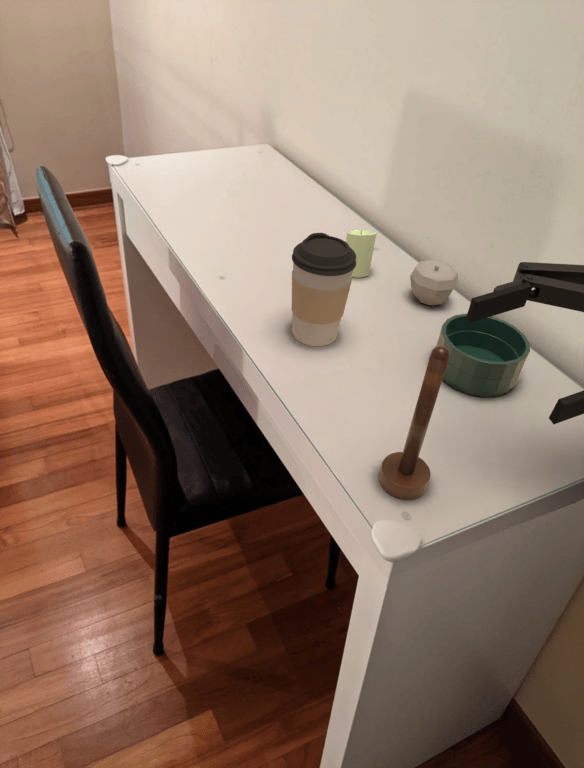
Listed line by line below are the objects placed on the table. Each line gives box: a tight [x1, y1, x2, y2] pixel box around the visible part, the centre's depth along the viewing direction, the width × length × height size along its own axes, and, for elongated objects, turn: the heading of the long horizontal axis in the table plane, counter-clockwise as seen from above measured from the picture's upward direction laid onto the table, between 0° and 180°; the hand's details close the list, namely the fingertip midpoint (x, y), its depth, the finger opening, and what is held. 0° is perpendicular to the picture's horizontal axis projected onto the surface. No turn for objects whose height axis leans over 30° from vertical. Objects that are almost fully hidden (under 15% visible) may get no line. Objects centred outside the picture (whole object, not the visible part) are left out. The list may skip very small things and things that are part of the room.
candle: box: [345, 229, 377, 279], centre depth 107 cm, size 5×5×8 cm
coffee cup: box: [291, 232, 356, 347], centre depth 88 cm, size 9×9×15 cm
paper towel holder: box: [378, 346, 450, 501], centre depth 65 cm, size 6×6×19 cm
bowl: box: [435, 313, 531, 398], centre depth 87 cm, size 12×12×6 cm
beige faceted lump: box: [409, 259, 459, 306], centre depth 102 cm, size 8×8×7 cm
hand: (510, 357), depth 57 cm, fingers open, 13 cm apart
